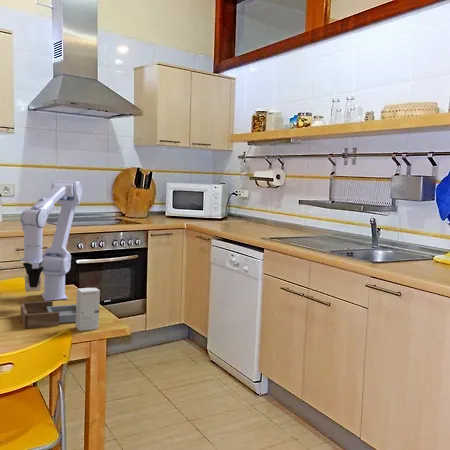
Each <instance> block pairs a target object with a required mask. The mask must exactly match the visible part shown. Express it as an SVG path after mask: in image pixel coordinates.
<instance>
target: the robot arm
mask: <svg viewBox="0 0 450 450" xmlns="http://www.w3.org/2000/svg"><path fill="white" fill-rule="evenodd" d="M82 185H83V184H82V183H81V182H80V181H79V180H76V181H73V180H60V179H54V181H53V182H52V183H51V189H50V190H49V192H48V194H47V195H46V196H44V197H43V196H42V197H40V198H39V199H38V200H37V201H36V202H35V203H34V204H33V205H32V207H30V208H27V209H25V210H24V211H22V213H21V215H20V217H19V219H20V220H19V221H20V225H21V227H22V228H21V230H22V231H23V257H20V258H19V261H20V262H23V263H22V265H23V267H24V270H25V274H28V278H29V284H30V287H31V288H32V287H37V286H38V282H39V277H40V276H41V273H42V274H43V275H44V279H43V292H41V294H40V295H41V297H42V298H43V301H57V300H58V301H60V300H68V296H67V295H66V274H68V273H69V271H70V270H71V264H72V262H71V261H72V255H71V253H70V252H69V251H68V249H67V244H68V240H69V236H70V232H71V229H72V224H73V220H74V216H75V212H76V209H77V208H76V207H78V206H80V204H81V203H80V202H81V199H82V197H83V186H82ZM55 204H58V205H59V206H60V211H59V216H58V218H57V222H56V223H57V224H56V227H55V231H54V235H53V239H52V243H51V246H50V247H47V248H45V249H44V250H43V236H44V234H43V231H44V230H43V229H44V228H43V227H44V226H46V223H47V220H48V218H49V216H50V214H51V213H52V212H53V211H54V209H55Z"/></svg>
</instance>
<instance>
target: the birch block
mask: <svg viewBox="0 0 450 450" xmlns="http://www.w3.org/2000/svg"><path fill="white" fill-rule="evenodd" d="M41 278H42V277H41V275H40V277H39V282H38V286H37V287H32V288H31V287H30V284H29V278H28V274H27V273H25V274H24V289H25V292H41V287H42V286H41V284H42V283H41V282H42V281H41V280H42V279H41Z"/></svg>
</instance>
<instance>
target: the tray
mask: <svg viewBox="0 0 450 450" xmlns="http://www.w3.org/2000/svg"><path fill="white" fill-rule="evenodd" d="M48 312H59V324H66V323H67V324H68V323H76V304H64V305H53V306H49V307H46V313H48Z"/></svg>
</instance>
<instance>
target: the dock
mask: <svg viewBox="0 0 450 450" xmlns="http://www.w3.org/2000/svg"><path fill="white" fill-rule="evenodd" d="M49 306H54V300H46V301H45V300H42V301H40V300H39V301H38V300H37V301H24V302H20V316H21V317H20V318H21V320H22V324H23V327H24V329H34V328H35V329H36V328H44V327H45V328H46V327H54V326H55V327H56V326H59V325H60V323H59V312H48V313H46V307H49Z"/></svg>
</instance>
